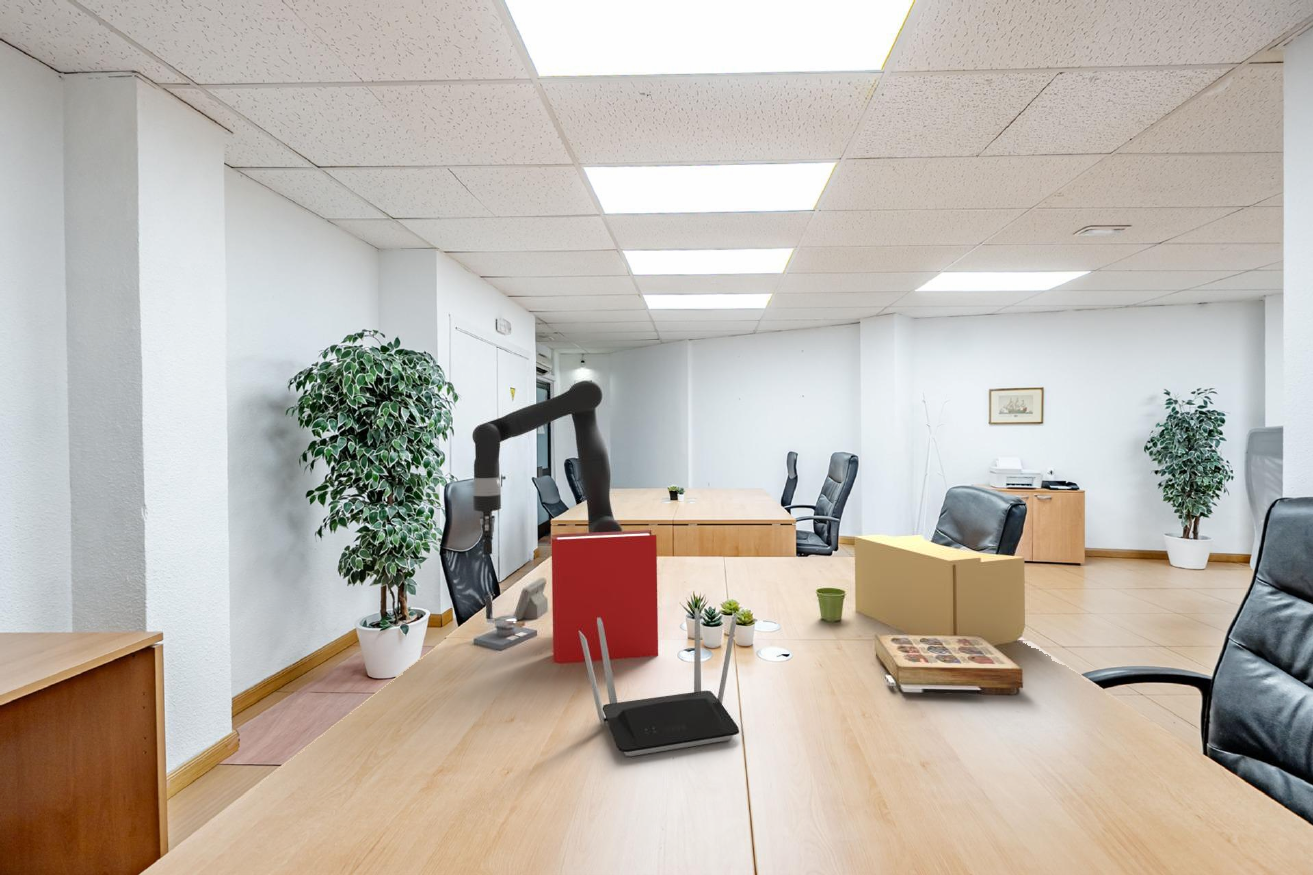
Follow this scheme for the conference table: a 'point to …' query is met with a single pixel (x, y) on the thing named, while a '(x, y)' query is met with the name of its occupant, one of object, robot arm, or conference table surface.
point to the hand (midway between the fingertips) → (488, 553)
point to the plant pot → (831, 603)
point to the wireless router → (664, 708)
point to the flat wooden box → (947, 665)
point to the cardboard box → (939, 588)
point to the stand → (505, 637)
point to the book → (604, 594)
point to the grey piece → (501, 621)
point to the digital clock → (532, 601)
